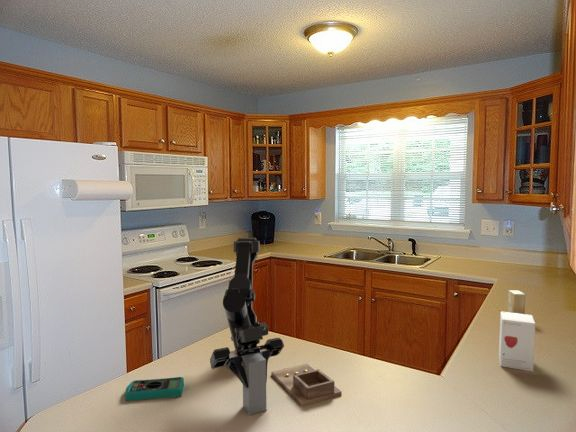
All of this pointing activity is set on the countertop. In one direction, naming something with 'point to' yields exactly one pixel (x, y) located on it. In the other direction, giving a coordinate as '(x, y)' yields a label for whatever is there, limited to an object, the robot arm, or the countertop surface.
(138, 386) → the digital multimeter
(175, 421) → the countertop surface
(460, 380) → the countertop surface
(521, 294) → the skincare box
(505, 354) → the supplement box
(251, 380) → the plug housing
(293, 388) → the walnut holder
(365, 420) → the countertop surface
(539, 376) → the countertop surface
